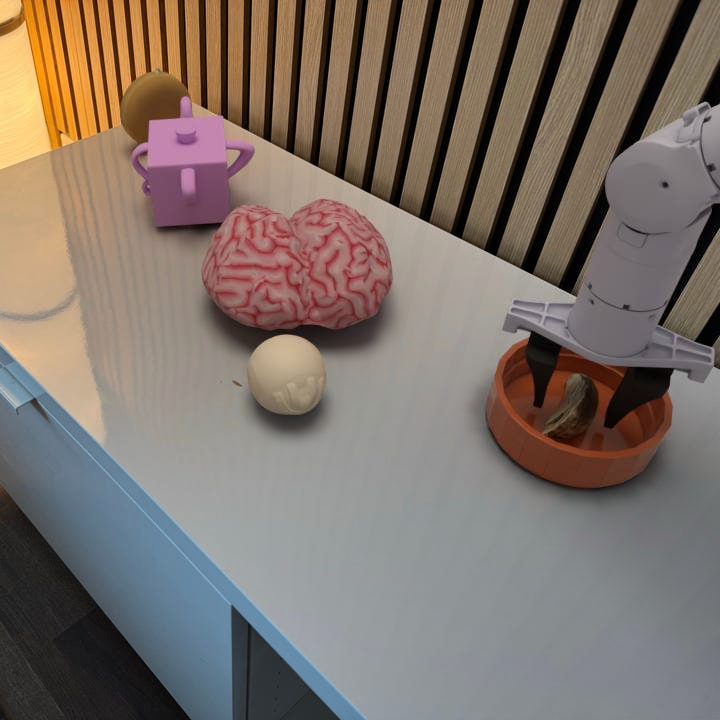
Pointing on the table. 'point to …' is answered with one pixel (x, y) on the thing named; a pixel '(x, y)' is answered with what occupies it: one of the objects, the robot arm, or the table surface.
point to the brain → (298, 267)
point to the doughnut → (151, 102)
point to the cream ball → (287, 375)
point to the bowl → (583, 451)
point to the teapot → (189, 168)
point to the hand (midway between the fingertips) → (573, 409)
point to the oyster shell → (573, 409)
